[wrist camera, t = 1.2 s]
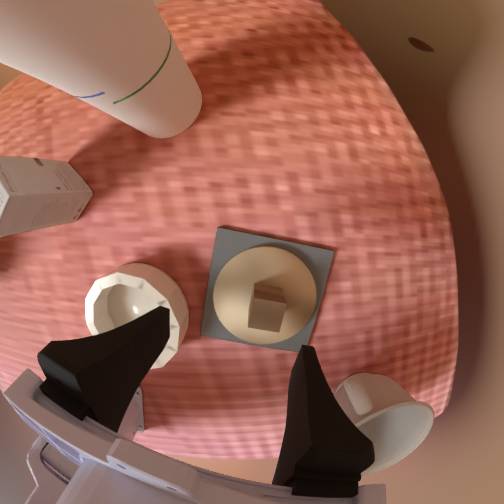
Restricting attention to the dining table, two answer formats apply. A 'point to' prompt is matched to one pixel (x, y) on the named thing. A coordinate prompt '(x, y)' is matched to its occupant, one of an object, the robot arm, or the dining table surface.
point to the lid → (264, 295)
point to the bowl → (137, 303)
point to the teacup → (384, 416)
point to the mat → (238, 241)
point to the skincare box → (39, 194)
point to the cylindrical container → (104, 58)
